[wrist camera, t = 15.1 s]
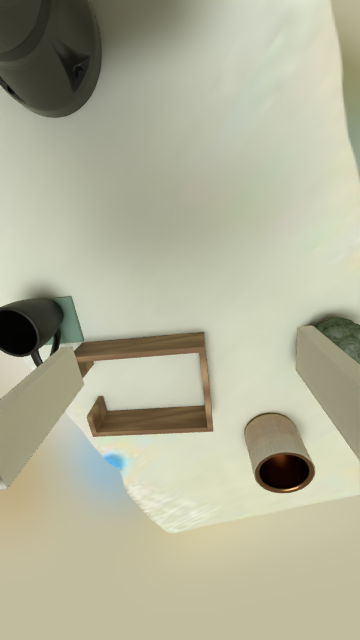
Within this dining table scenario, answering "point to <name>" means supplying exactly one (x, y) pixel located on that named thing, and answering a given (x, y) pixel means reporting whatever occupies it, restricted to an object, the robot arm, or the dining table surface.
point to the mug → (30, 327)
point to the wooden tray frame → (147, 418)
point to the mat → (68, 322)
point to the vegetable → (343, 335)
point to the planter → (278, 454)
